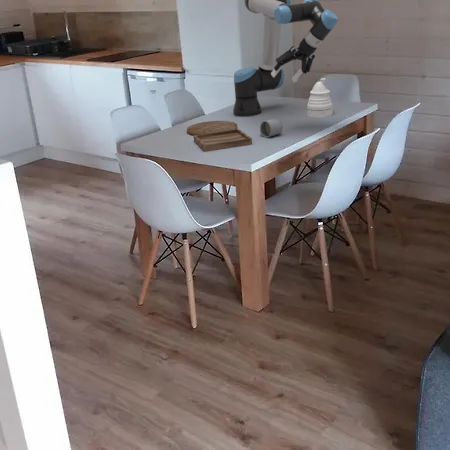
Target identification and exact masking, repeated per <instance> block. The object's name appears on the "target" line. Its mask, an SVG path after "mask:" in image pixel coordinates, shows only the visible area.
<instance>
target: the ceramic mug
mask: <svg viewBox="0 0 450 450" xmlns="http://www.w3.org/2000/svg"><path fill="white" fill-rule="evenodd" d="M282 131H283V124H282V122H281V120H279V119H278V118H276V119H275V118H274V119H268V120H263V121H261V123H260V126H259V132H260V134H261V135H262V136H263V137H264V138H271V137H274V136H278V135H279V134H282Z"/></svg>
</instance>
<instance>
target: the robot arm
mask: <svg viewBox="0 0 450 450" xmlns="http://www.w3.org/2000/svg"><path fill="white" fill-rule="evenodd" d="M244 5H245V6H244V7H245V8H246V9H247V10H248V11H249V12H251V13H252V14H253V13H254V14H261V15H263V17H264V23H263V39H262V54H261V62H259V63H258V69H257V68H256V67H255V66H254V67H253V66H249V67H244V68H243V67H242V68H241V69H237V70H236V71H234V73H233V84H234V85H233V86H234V97H235V101H234V106H233V111H232V112H233V113H232V114H233V116H236V117H252V116H257V115H260V114H261V113H262V107H261V104H260V101H259V98H258V92H264V91H265V92H266V91H273V90H277V89H280V88H281V87H282V86H283V84H284V81H285V73H284V72H285V71H284V69H283V66H284V65H286V64H288V63H290V62H292V61H296V60H298V61H301V68H299V69H298V70H297V71H296V73H295V74H294V75H293V76H292V78H291V80H292V82H293V84H296V83H297V81H298V80H299V79H301V77H302V76H303V75H304V74H307V73H309V72H310V71H311V67H312V64H313V61H314V59H315V58H316V55H315V52H316V50H317V49H318V47H319V46H320V45H321V44H322V42H323V41H324V40H325V39H326V37H328V35H329V34H330V33H331V31H333V29H334V28H335V26H336V24H338V21H339V18H338V16H337V14H335V13H334V12H332V11H331V10H329V9H324V6H322V4H321V3H320V1H318V0H303V1H302V2H301V3H295V4H292V0H244ZM308 21H310V22H311V24H312V27H310V29H309V30H308V31H307V33H306V34H305V35H304V37H303V38H302V39H301V41H300V42H299V44H298V45H299V46H298V47H295V46H294V45H293V46H291V47H290V49H288V50H287V51H285V52H284V53H283V54H281V55H280V46H281V45H280V42H281V29H282V25H287V24H292V23H300V22H308Z"/></svg>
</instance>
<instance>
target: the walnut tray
mask: <svg viewBox="0 0 450 450" xmlns="http://www.w3.org/2000/svg"><path fill="white" fill-rule="evenodd" d="M193 142H194V143H195V144H196V145H197V146H198V147H199V148H200V149H201V150H202V151H203V152H204V153H205V152H210V151H217V150H218V151H219V150H224V149H229V148H236V147H238V148H239V147H243V146H249V145H253V138H252V137H251V136H249V135H248V134H247V133H245V132H244V131H242V130H241V129H240V128H237V129H234V130H227V131H220V132H214V133H207V134H200V135H194V136H193Z"/></svg>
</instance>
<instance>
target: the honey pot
mask: <svg viewBox="0 0 450 450" xmlns="http://www.w3.org/2000/svg"><path fill="white" fill-rule="evenodd" d="M325 82H326V78H325V77H324V78H320V81H317V82H315V84H314V85H313V87H312V90H311V91H309V94H310V95H309V97H308V102H307V105H306V106H307V107H306V109H307V110H306V111H307V112H306V113H307V114H306V115H308V117H309V116H310V117H309V118H327V117H330V116H332V115H333V114H334V113H333V111H334V110H333V101H332V99H331V96H330V95H329V93H330V92H331V90H329V89H328V88H327V87H326V85H325V84H324V83H325Z"/></svg>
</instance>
